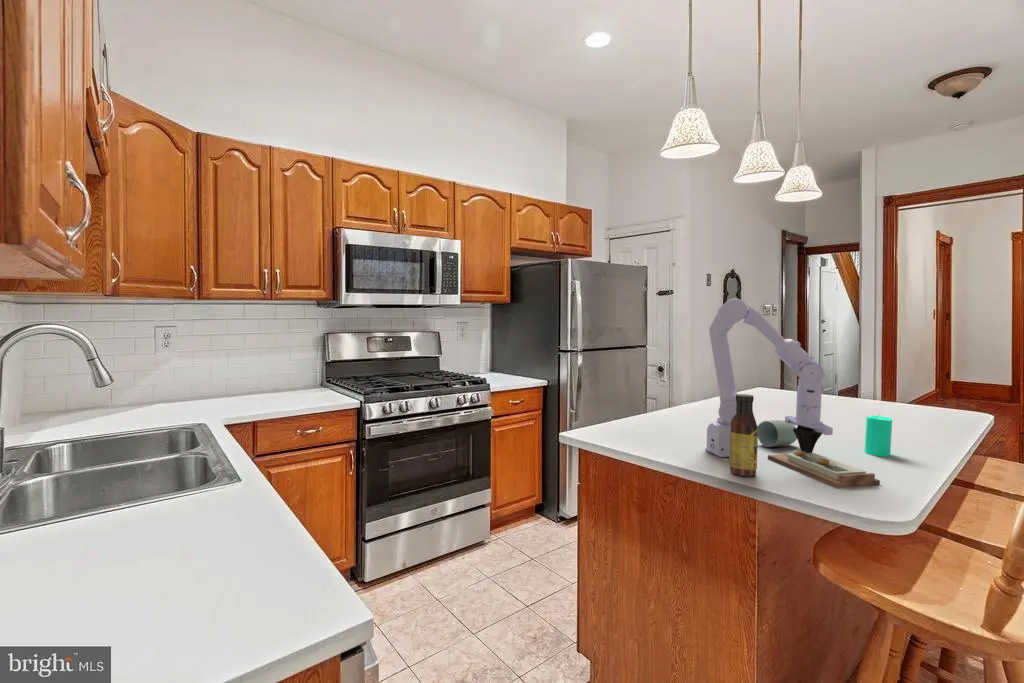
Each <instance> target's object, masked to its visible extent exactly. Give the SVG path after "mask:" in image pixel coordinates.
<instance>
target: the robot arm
mask: <svg viewBox="0 0 1024 683" xmlns="http://www.w3.org/2000/svg"><path fill="white" fill-rule="evenodd" d="M741 320H743V323H744V324H747V325H748V326H753V327H754V328H755V329H757V331H759V332H760V334H762V335H763V337H765V338H766V339H767V340H768V341H769V342H770V343H771V344H772V345H773V346H774V349H775V350H774V353H775V355H776V356H777V357H778V358H779V359H780V360H781V361H782V362H783V363H784V364H785V365H786V366H787V367H789V369H791V370H792V371H795V373H796V375H797V377H798V383H797V384H798V385H797V388H796V403H795V404H796V407H795V408H796V409H795V410H796V411H795V416H794V415H793V416H792V415H785V417H784V418H785V419H784V421H785V423H788V424H789V423H790V424H793V425H794V426H796V428H793V432H794V433H795V435H796V437H797V442H798V445H799V450H801V451H805V452H806V453H814V452H813V451H814V449H815V445H816V443H817V442H818V440H819V439H820V437H821V436H822V435H823V436H833V433H834V432H833V431H834V430H833V429H834V427H832V426H829V425H827V424H825V423H824V422H823V421H821V414H822V392H823V391H822V385H823V383H822V381H823V380H824V379H825V378H824V377H825V372H824V369H823V367H822V366H821V365H820V364H818V362H817V361H816V360H814V359H815V356H813V355H811V354H808V353H807V352H806V351H805V350H804V349H803V347H802V346H801V345H802V344H801V342H799V341H798V340H797V341H795V340H794V339H792V338H784V337H783V336H782V335H781V333H779V331H778V330H776V328H775V327H774V326H773V325H772V324H771V323H770V322H769V321H768V320H767V319H766V318H765V317H764V316H763V315H762V314H761V313H759V312H758V311H757V310H756V309H754V308H752V307H751V306H750V305H748V306H747V304H746V302H744V301H743V299H739V298H730V299H728V300H727V301H726V302H724V304H723V305H721V306H720V307H719V308H718V310H717V313H716V315H715V316H714V318H713V321H712V322H711V325H710V326H709V329H708V331H709V339H710V344H711V350H712V356H713V362H714V368H715V373H716V379H717V380H716V381H717V385H718V386H717V387H718V390H719V392H718V393H719V408H718V416H719V417H717V418H716V421H715V422H712V423H709V424H708V426H707V429H706V447H705V448H704V450H705V451H707V452H709V453H711V454H714V455H715V456H718V457H720V458H727V457H728V458H730V432H731V421H732V418H733V417H734V416H735V414H736V413H737V412H736V404H737V403H736V395H737V394H738V391H737V385H736V381H735V380H736V379H735V375H734V368H733V363H732V358H731V350H730V344H729V338H728V333H729V331H730V330H731V329H732V328H733V327H734V326H735V325H736V324H737V323H739V322H740V321H741Z"/></svg>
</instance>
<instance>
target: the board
mask: <svg viewBox="0 0 1024 683" xmlns="http://www.w3.org/2000/svg"><path fill="white" fill-rule="evenodd" d="M788 454H789V453H784V454H780V453H779V454H768V455H767V459H768V460H770V461H772V462H775V463H777V464H779V465H781V464H782V466H783V467H786V468H789V469H791V470H794V471H796V472H798V473H801V474H802V475H805V476H808V477H809V478H811V479H812V478H813V479H815V480H817V481H819V482H821V483H824V484H826V485H829V486H831V487H833V488H836V489H837V488H839V489H840V488H851V487H852V488H853V487H863V486H877V485H880V484H881V480H880V479H877V478H876V474H875V473H873V472H869V473H867V472H866V473H865V474H850V475H840V477H839V480H836V479H833V478H831V477H828V476H826V475H823V474H821V473H819V472H816V471H814V470H811V469H809V468H806V467H804V466H801V465H799V464H796V463H794V462H791V461H789V460H788ZM793 454H794V455H797V456H799V457H802V459H803V455H806V452H805V451H801V450H800V449H795V450H793ZM816 462H817V463H819V464H820V465H823V466H825V467H826V464H829V460H827V459H822V458H818V459H816Z"/></svg>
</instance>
